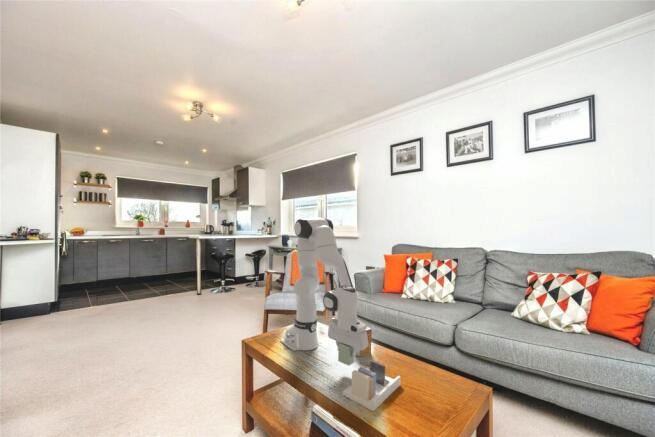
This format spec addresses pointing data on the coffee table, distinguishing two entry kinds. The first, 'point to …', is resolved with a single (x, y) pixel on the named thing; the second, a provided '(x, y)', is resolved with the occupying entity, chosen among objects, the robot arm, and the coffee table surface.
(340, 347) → the sage green cuboid
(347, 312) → the robot arm
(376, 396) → the slotted holder
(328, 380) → the coffee table surface
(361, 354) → the small box
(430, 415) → the coffee table surface
